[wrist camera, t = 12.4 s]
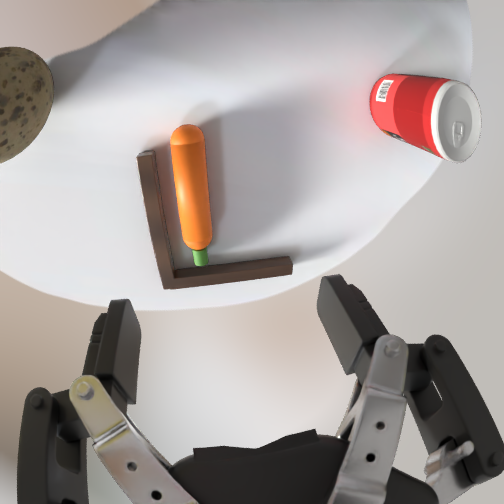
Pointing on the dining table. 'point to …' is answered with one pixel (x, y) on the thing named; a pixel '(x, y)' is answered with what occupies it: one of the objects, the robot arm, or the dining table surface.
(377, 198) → the dining table surface
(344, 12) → the dining table surface
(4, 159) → the decorative egg
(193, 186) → the carrot
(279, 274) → the corner guide
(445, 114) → the canned food
